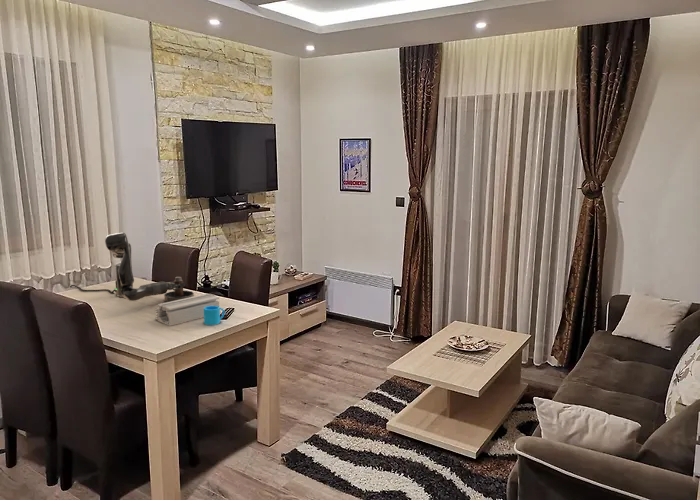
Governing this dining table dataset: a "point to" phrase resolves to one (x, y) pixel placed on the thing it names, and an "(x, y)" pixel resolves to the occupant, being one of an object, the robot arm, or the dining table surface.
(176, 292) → the pepper mill
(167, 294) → the pan
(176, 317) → the aluminum extrusion profile
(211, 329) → the dining table surface
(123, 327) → the dining table surface
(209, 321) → the mug
